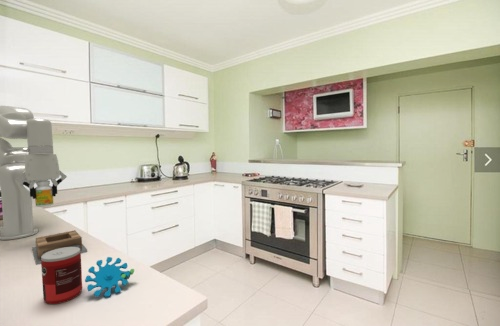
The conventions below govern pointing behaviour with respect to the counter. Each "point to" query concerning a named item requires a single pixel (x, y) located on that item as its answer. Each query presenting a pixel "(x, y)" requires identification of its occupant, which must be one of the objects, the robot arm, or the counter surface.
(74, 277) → the canned food
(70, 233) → the frame
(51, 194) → the supplement bottle
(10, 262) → the counter surface
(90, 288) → the gear
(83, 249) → the jig plate
